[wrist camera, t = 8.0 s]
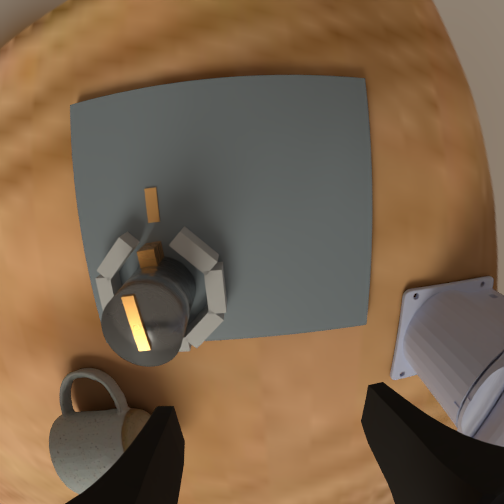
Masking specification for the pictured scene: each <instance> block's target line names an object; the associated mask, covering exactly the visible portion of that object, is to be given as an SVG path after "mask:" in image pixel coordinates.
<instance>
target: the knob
mask: <svg viewBox="0 0 504 504" xmlns="http://www.w3.org/2000/svg"><path fill="white" fill-rule="evenodd" d="M137 256H138V260H139V264H140V266H139V267H138V269H137V270H136V271H135V272H134V273H133V274H132V275H131V277H130V278H129V279H128V280H127V281H126V282H125V283H124V285H123V286H122V287H121V288H120V289H119V290H118V292H117V293H116V294H115V295H114V296H113V298H112V299H111V300H110V301H109V302H108V303H107V305H106V306H105V308H104V311H103V313H102V319H101V326H102V331H103V334H104V337H105V339H106V341H107V343H108V344H109V346H110V347H111V348H112V349H113V350H114V351H115V352H116V353H117V354H118V355H119V356H120V357H122V358H123V359H125V360H127V361H129V362H131V363H133V364H136V365H140V366H147V367H150V366H159V365H162V364H165V363H167V362H169V361H170V360H172V359H173V358H174V357H175V356H176V355H177V353H178V352H179V350H180V348H181V345H182V341H183V337H184V334H185V330H186V326H187V323H188V319H189V316H190V312H191V309H192V305H193V302H194V298H195V294H196V285H195V281H194V278H193V276H192V274H191V272H190V271H189V270H188V268H187V267H186V266H185V265H184V264H182V263H181V262H179V261H178V260H175V259H173V258H170V257H165V256H164V253H163V248H162V244H161V241H157V242H152V243H146V244H144V245H143V246H142V247H141V248H140V249H139V250H138V251H137Z"/></svg>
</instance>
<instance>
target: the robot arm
mask: <svg viewBox="0 0 504 504" xmlns="http://www.w3.org/2000/svg"><path fill="white" fill-rule="evenodd" d="M493 282H494V279H493V278H492V277H491V276H485V277H480V278H474V279H469V280H463V281H457V282H451V283H445V284H439V285H432V286H426V287H419V288H413V289H408V290H406V291H405V292H404V294H403V298H402V306H401V313H400V321H399V327H398V334H397V340H396V346H395V352H394V357H393V362H392V368H391V373H390V377H391V378H392V379H393V380H397V379H401V378H406V377H410V376H413V375H418V376H419V377H420V379H421V380H422V381H423V382H424V384H425V385H426V386H427V388H428V389H429V390H430V392H431V393H432V394H433V396H434V397H435V398H436V400H437V401H438V402H439V404H440V405H441V406H442V408H443V409H444V410H445V412H446V413H447V414H448V416H449V417H450V418H451V420H452V421H453V423H454V424H455V425H456V427H457V428H458V429H457V431H456V430H454V429H451V428H449V427H448V426H446V425H444V424H442V423H440V422H439V421H437V420H435V419H434V418H432V417H430V416H429V415H427V414H426V413H424V412H423V411H421V410H420V409H418V408H417V407H416V406H414V405H413V404H411V403H410V402H409V401H407V400H406V399H405V398H403V397H402V396H401V395H399V394H398V393H397V392H395V391H394V390H393V389H391V388H390V387H389V386H387V385H386V384H385V383H383V382H381V383H376V384H372V385H368V390H367V395H366V400H365V405H364V410H363V415H362V419H361V423H362V426H363V429H364V432H365V435H366V438H367V441H368V444H369V446H370V448H371V450H372V452H373V454H374V456H375V458H376V460H377V462H378V464H379V466H380V468H381V471H382V473H383V475H384V477H385V479H386V481H387V483H388V485H389V488H390V490H391V493H392V496H393V499H394V502H395V504H504V296H503V295H502V294H500V293H499V292H497V291H495V290H494V289H492V288H493ZM416 293H417V295H416V296H415V297H414V298H413V296H414V294H416ZM401 372H402V373H401ZM400 373H401V374H400ZM184 445H185V441H184V438H183V435H182V431H181V428H180V425H179V422H178V419H177V415H176V412H175V409H174V406H158V407H157V408H156V409H155V410H154V412H153V413H152V415H151V416H150V418H149V419H148V421H147V422H146V424H145V425H144V427H143V428H142V430H141V431H140V432H139V434H138V435H137V436H136V438H135V439H134V440H133V442H132V443H131V444H130V446H129V447H128V448H127V449H126V451H125V452H124V453H123V454H122V455H121V456H120V458H119V459H118V460H117V461H116V462H115V463H114V464H113V465H112V467H111V468H110V469H109V470H108V471H107V472H106V473H105V474H103V475H102V476H101V477H100V478H99V479H98V480H97V481H96V482H95V483H93V484H92V485H91V486H90V487H89V488H87V489H86V490H85V491H83V492H82V493H81V494H79V495H78V496H76V497H75V498H73V499H72V500H70V501H69V502H67V503H65V504H177V503H178V497H179V491H180V485H181V479H182V472H183V466H184Z"/></svg>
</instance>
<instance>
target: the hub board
mask: <svg viewBox="0 0 504 504" xmlns="http://www.w3.org/2000/svg"><path fill="white" fill-rule="evenodd" d="M70 119H71V144H72V159H73V171H74V182H75V191H76V199H77V207H78V214H79V221H80V228H81V234H82V240H83V245H84V251H85V256H86V261H87V266H88V271H89V276H90V280H91V285H92V289H93V293H94V298H95V302H96V306H97V309H98V313H99V317H100V321H101V319H102V313H103V311H104V308H105V306H106V305H107V303H108V302H109V301H110V300H111V299H112V298H113V296H114V295H115V294H116V293H117V292H118V290H119V289H120V288H121V287H122V286H123V285H124V283H125V282H126V281H127V280H128V279H129V278H130V277H131V275H132V274H133V273H134V272H135V271H136V270H137V269H138V267H139V266H140V264H139V260H138V256H137V251H138V250H139V249H140V248H141V247H142V246H143V245H144V244H146V243H152V242H157V241H161V244H162V248H163V253H164V256H165V257H170V258H173V259H175V260H178V261H179V262H181V263H182V264H184V265H185V266H186V267H187V268H188V270H189V271H190V272H191V274H192V276H193V278H194V281H195V285H196V294H195V298H194V302H193V305H192V309H191V312H190V316H189V319H188V323H187V326H186V330H185V334H184V337H183V341H182V345H181V348H180V350H179V352H181V351H190V349H191V344H192V345H193V346H194V347H196V348H198V347H199V346H200V345H201V344H202V343H203V342H204V341H212V340H228V339H243V338H255V337H267V336H278V335H288V334H297V333H306V332H315V331H323V330H331V329H339V328H346V327H353V326H360V325H366V323H367V312H368V300H369V287H370V270H371V248H372V165H371V144H370V128H369V114H368V103H367V93H366V84H365V78H354V77H340V76H321V75H258V76H238V77H224V78H213V79H203V80H194V81H185V82H178V83H171V84H164V85H158V86H152V87H146V88H141V89H135V90H130V91H125V92H121V93H116V94H111V95H107V96H103V97H99V98H95V99H91V100H87V101H83V102H79V103H76V104H72V105H70ZM106 342H107V341H106Z"/></svg>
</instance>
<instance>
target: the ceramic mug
mask: <svg viewBox="0 0 504 504" xmlns="http://www.w3.org/2000/svg"><path fill="white" fill-rule="evenodd" d="M83 377H87V378H90V379H92V380H94V381H95V380H97V381H98V382H100V383H101V384H103V385H104V386H105V388H106V389H107V390H108V391H109V393H110V395H111V397H112V399H113V400H114V402H115V406H116V408H117V409H110V410H104V411H84V412H82V411H81V412H75V411H74V409H73V406H72V400H71V386H72V383H73V380H74V379H76V378H83ZM60 406H61V410H62V415H61V416H59V417H58V418H57V419H56V420H55V422H54V423H53V425H52V428H51V430H50V436H49V450H50V455H51V459H52V463H53V465H54V468H55V470H56V472H57V474H58V476H59V477H60V479H61V480H62V481H63V482H64V483H65V485H66V486H67V487H68V488H70V489H71V490H72V491H74V492H76V493H78V494H81V493H82V492H83V491H85V490H86V489H87V488H89V487H90V486H91V485H92V484H93V483H95V482H96V481H97V480H98V479H99V478H100V477H101V476H102V475H103V474H105V473H106V472H107V471H108V470H109V469H110V468H111V467H112V465H113V464H114V463H115V462H116V461H117V460H118V459H119V458H120V456H121V455H122V454H123V453H124V452H125V451H126V449H127V448H128V447H129V446H130V444H131V443H132V442H133V440H134V439H135V438H136V436H137V435H138V434H139V432H140V431H141V430H142V428H143V427H144V425H145V424H146V422H147V421H148V419H149V418H150V416H151V415H150V414H149V413H148V412H146V411H144V410H141V409H132V408H129V407H128V405H127V402H126V398H125V396H124V394H123V392H122V391H121V389H120V387H119V386H118V385H117V383H116V382H115V380H114V379H113V378H112V377H110V376H109V375H108V374H106V373H105V372H103V371H100V370H98V369H95V368H83V369H80V370H77V371H74V372H71V373H69V374H67V376H66V377H65V378H64V380H63V381H62V384H61V387H60Z"/></svg>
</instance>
